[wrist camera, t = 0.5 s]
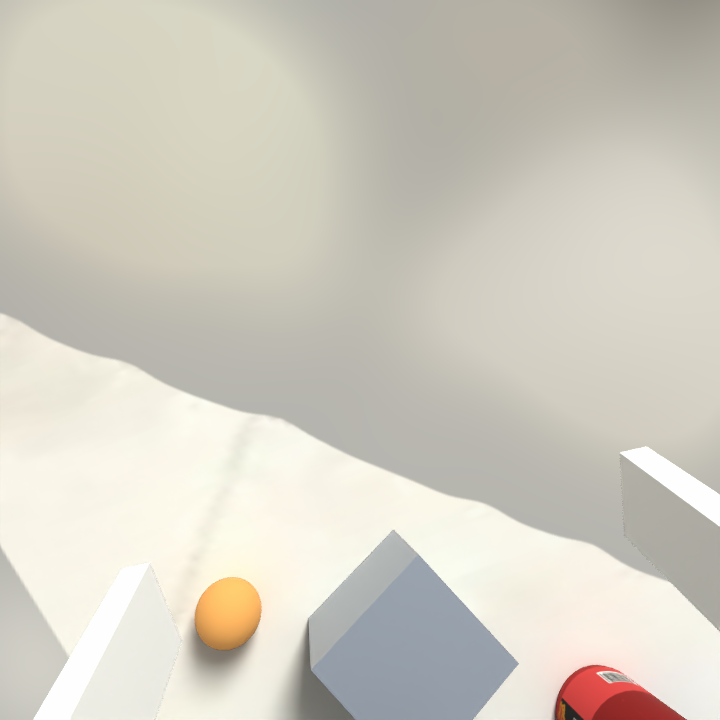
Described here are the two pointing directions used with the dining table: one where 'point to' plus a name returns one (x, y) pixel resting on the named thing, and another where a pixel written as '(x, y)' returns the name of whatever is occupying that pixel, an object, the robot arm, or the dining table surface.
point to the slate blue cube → (404, 643)
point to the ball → (228, 613)
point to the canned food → (608, 698)
